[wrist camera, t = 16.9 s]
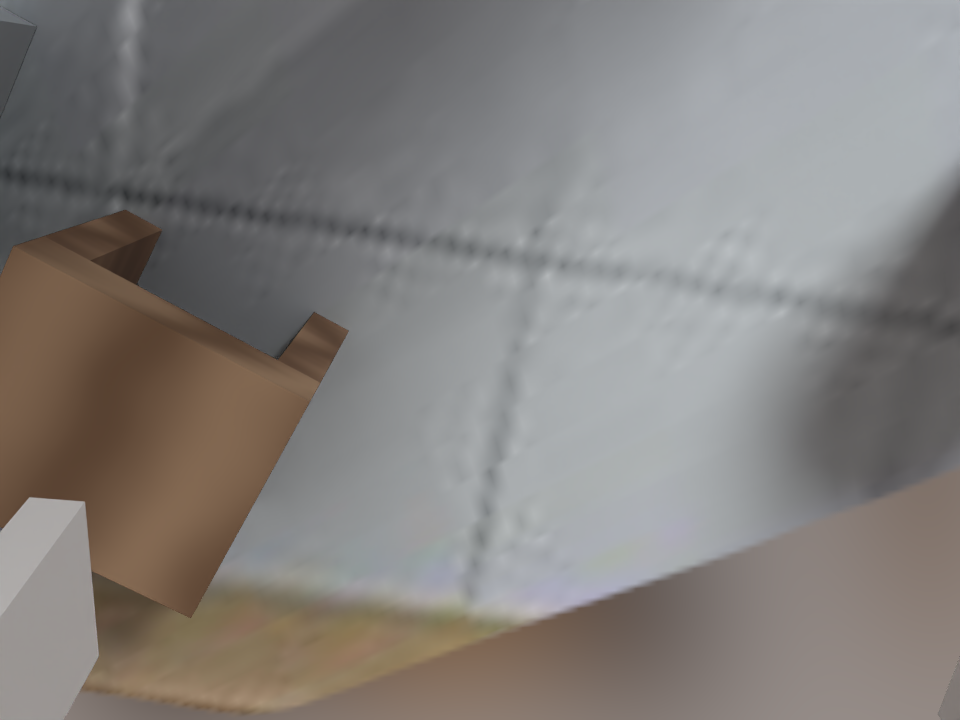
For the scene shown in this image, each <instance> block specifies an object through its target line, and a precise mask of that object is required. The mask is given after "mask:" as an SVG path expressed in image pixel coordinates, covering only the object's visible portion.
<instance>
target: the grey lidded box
mask: <svg viewBox="0 0 960 720" xmlns="http://www.w3.org/2000/svg"><path fill="white" fill-rule="evenodd" d="M36 27H37V26H35V25H33V24H32V23H30V22H28V21H26V20H24V19H23V18H21V17H19V16H17V15H15V14H14V13H12V12H10V11H8V10H6V9H5V8H3V7H1V6H0V117H1V114H2V112H3V109H4V107H5V104H6V102H7V99H8V97H9V94H10V92H11V89H12V87H13V84H14V82H15V79H16V77H17V74H18V72H19V69H20V67H21V64H22V62H23V59H24V57H25V54H26V52H27V49H28V47H29V44H30V42H31V39H32V37H33V34H34V32H35V29H36Z"/></svg>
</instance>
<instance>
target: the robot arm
mask: <svg viewBox="0 0 960 720" xmlns="http://www.w3.org/2000/svg"><path fill="white" fill-rule="evenodd" d="M98 657H99V651H98V640H97V629H96V618H95V607H94V596H93V585H92V574H91V562H90V551H89V540H88V529H87V518H86V507H85V502H84V501H71V500H58V499H45V498H32V497H29V498H28V500H27V501H26V502H25V503H24V504H23V506H22V507H21V508H20V509H19V510H18V511H17V513H16V514H15V515H14V516H13V517H12V519H11V520H10V521H9V522H8V523H7V524H6V526H5V527H4V528H3V529H2V530H1V532H0V720H64V719H65V717H66V715H67V713H68V711H69V710H70V708H71V706H72V704H73V702H74V700H75V699H76V697H77V695H78V693H79V692H80V690H81V688H82V686H83V684H84V682H85V681H86V679H87V677H88V675H89V673H90V671H91V670H92V668H93V666H94V664H95V662H96V660H97V659H98ZM938 715H939V717H940V718H941V720H960V658H959V660H958V663H957V665H956V668H955V671H954V673H953V676H952V679H951V681H950V683H949V686H948V689H947V691H946V694H945V696H944V699H943V702H942V704H941V707H940V710H939V712H938Z"/></svg>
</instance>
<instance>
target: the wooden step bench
mask: <svg viewBox="0 0 960 720" xmlns="http://www.w3.org/2000/svg"><path fill="white" fill-rule="evenodd" d="M161 232H162V229H160V228H158V227H156V226H154V225H153V224H151V223H149V222H147V221H145V220H143V219H141V218H140V217H138V216H136V215H134V214H132V213H130V212H129V211H127V210H123V211H120V212H117V213H114V214H111V215H108V216H105V217H102V218H99V219H96V220H92V221H89V222H86V223H83V224H80V225H77V226H74V227H71V228H68V229H65V230H61V231H58V232H55V233H52V234H49V235H46V236H43V237H40V238H37V239H34V240H31V241H28V242H24V243H21V244H18V245H15V246H13V248H12V250H11V253H10V255H9V257H8V259H7V262H6V264H5V266H4V269H3V271H2V273H1V276H0V527H1V528H4V527H5V526H6V524H7V523H8V522H9V521H10V520H11V519H12V517H13V516H14V515H15V514H16V513H17V511H18V510H19V509H20V508H21V507H22V506H23V504H24V503H25V502H26V501H27V500H28V498H29V497H32V498H45V499H58V500H71V501H84V502H85V507H86V518H87V529H88V540H89V551H90V562H91V571H93V572H95V573H97V574H99V575H101V576H103V577H105V578H108V579H110V580H112V581H114V582H116V583H118V584H120V585H122V586H124V587H126V588H129V589H131V590H133V591H135V592H137V593H139V594H141V595H143V596H145V597H147V598H149V599H152V600H154V601H156V602H158V603H160V604H162V605H164V606H166V607H168V608H170V609H172V610H175V611H177V612H179V613H181V614H183V615H185V616H187V617H189V618H191V617H192V615H193V613H194V612H195V610H196V608H197V606H198V604H199V602H200V601H201V599H202V597H203V595H204V593H205V592H206V590H207V588H208V586H209V584H210V582H211V581H212V579H213V577H214V575H215V573H216V572H217V570H218V568H219V566H220V564H221V562H222V561H223V559H224V557H225V555H226V553H227V552H228V550H229V548H230V546H231V544H232V543H233V541H234V539H235V537H236V535H237V533H238V532H239V530H240V528H241V526H242V524H243V523H244V521H245V519H246V517H247V515H248V513H249V512H250V510H251V508H252V506H253V504H254V503H255V501H256V499H257V497H258V495H259V493H260V492H261V490H262V488H263V486H264V484H265V483H266V481H267V479H268V477H269V475H270V473H271V472H272V470H273V468H274V466H275V464H276V463H277V461H278V459H279V457H280V455H281V453H282V452H283V450H284V448H285V446H286V444H287V443H288V441H289V439H290V437H291V435H292V433H293V432H294V430H295V428H296V426H297V424H298V423H299V421H300V419H301V417H302V415H303V413H304V412H305V410H306V408H307V406H308V404H309V402H310V401H311V399H312V397H313V395H314V393H315V392H316V390H317V388H318V386H319V384H320V382H321V381H322V379H323V377H324V375H325V373H326V372H327V370H328V368H329V366H330V364H331V362H332V361H333V359H334V357H335V355H336V353H337V352H338V350H339V348H340V346H341V344H342V342H343V341H344V339H345V337H346V335H347V333H348V332H349V331H348V330H346V329H344V328H343V327H341V326H339V325H337V324H335V323H333V322H331V321H330V320H328V319H326V318H324V317H322V316H320V315H319V314H317V313H315V312H314V313H313V314H312V316H311V317H310V318H309V320H308V321H307V322H306V324H305V325H304V326H303V328H302V329H301V330H300V332H299V333H298V334H297V336H296V337H295V338H294V339H293V341H292V342H291V343H290V345H289V346H288V347H287V349H286V350H285V351H284V353H283V354H282V355H281V357H280V358H279V359H278V360H277V359H275V358H273V357H271V356H269V355H267V354H265V353H263V352H261V351H260V350H258V349H256V348H254V347H252V346H250V345H248V344H246V343H244V342H243V341H241V340H239V339H237V338H235V337H233V336H231V335H229V334H227V333H226V332H224V331H222V330H220V329H218V328H216V327H214V326H212V325H211V324H209V323H207V322H205V321H203V320H201V319H199V318H197V317H195V316H194V315H192V314H190V313H188V312H186V311H184V310H182V309H180V308H178V307H177V306H175V305H173V304H171V303H169V302H167V301H165V300H163V299H161V298H160V297H158V296H156V295H154V294H152V293H150V292H148V291H146V290H144V289H143V288H141V287H139V286H137V285H136V284H137V282H138V280H139V278H140V276H141V274H142V272H143V270H144V268H145V265H146V263H147V261H148V259H149V257H150V255H151V253H152V251H153V249H154V246H155V244H156V242H157V240H158V238H159V236H160V234H161Z"/></svg>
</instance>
